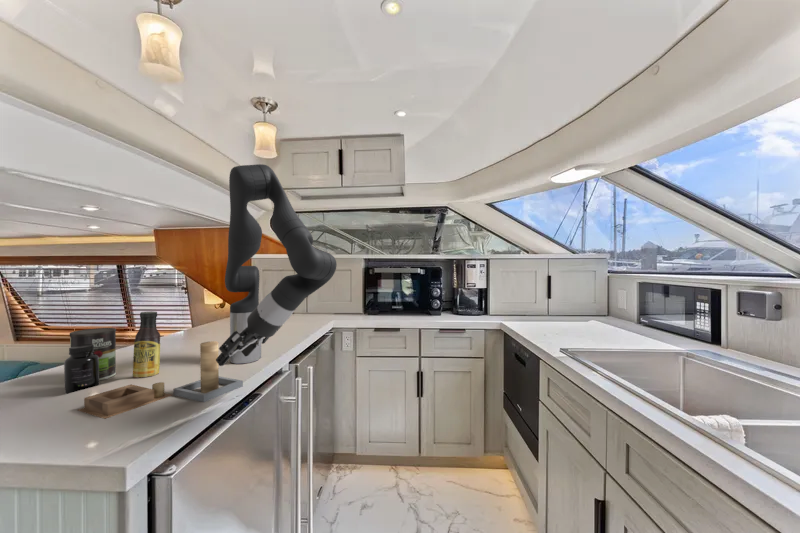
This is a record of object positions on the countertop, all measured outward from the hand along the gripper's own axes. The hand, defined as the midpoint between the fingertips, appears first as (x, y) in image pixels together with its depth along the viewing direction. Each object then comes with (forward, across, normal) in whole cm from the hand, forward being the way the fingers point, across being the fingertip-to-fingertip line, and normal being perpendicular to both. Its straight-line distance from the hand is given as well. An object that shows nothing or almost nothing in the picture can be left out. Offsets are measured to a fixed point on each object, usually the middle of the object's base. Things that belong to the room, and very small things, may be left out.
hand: (232, 358), depth 84 cm
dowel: (+12, 0, +2) cm, 12 cm away
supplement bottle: (+38, +4, -24) cm, 45 cm away
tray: (+12, 0, +2) cm, 12 cm away
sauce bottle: (+32, -6, -18) cm, 37 cm away
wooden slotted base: (+21, +10, -7) cm, 25 cm away
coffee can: (+44, -4, -30) cm, 54 cm away
